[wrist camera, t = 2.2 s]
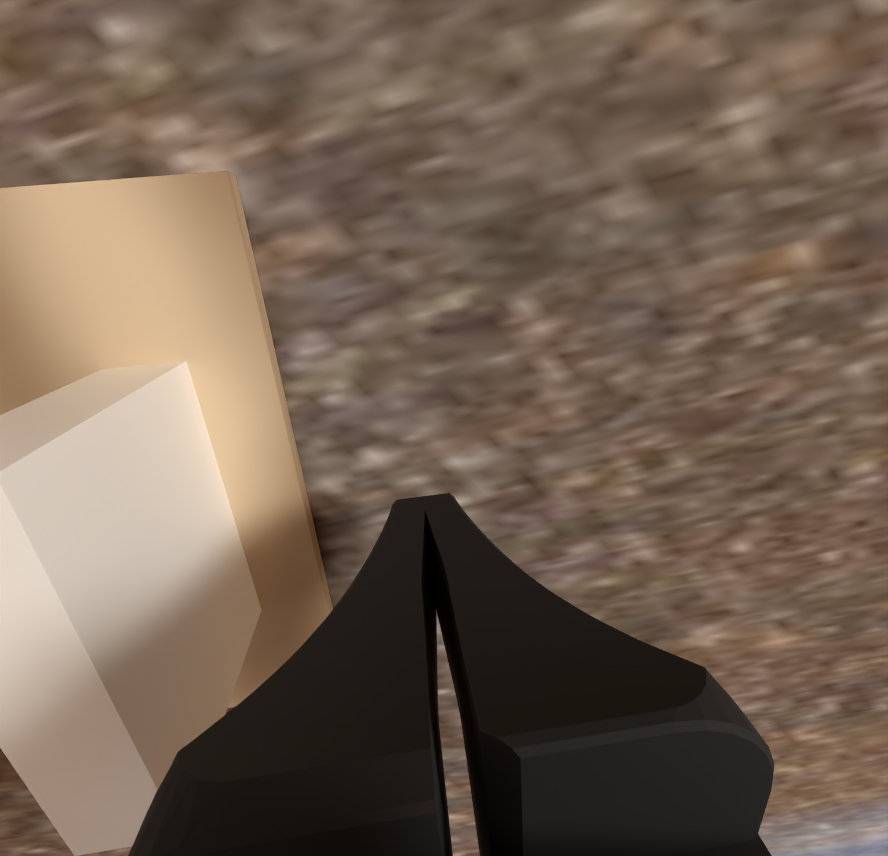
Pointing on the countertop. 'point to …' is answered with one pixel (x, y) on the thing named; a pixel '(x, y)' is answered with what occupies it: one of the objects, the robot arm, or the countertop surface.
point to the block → (114, 595)
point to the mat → (170, 354)
